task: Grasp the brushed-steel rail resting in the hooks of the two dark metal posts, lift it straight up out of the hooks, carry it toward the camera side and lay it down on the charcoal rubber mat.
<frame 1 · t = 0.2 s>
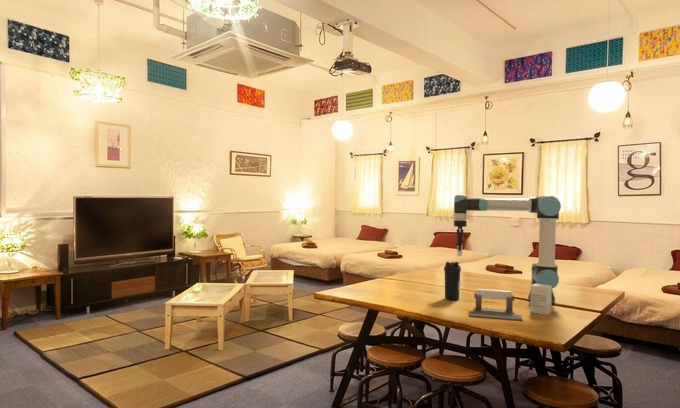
hand: (459, 254, 270), 28 cm above the table, fingers open, 13 cm apart
rack: (493, 311, 244), on the table
rail: (493, 298, 244), point 7 cm above the table, touching rack
water bottle: (451, 299, 273), on the table
supplement box: (540, 312, 243), on the table
mat: (495, 316, 233), on the table
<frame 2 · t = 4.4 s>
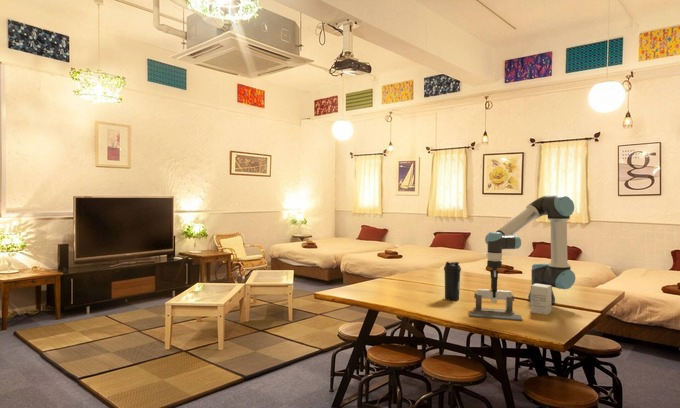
hand: (493, 302, 244), 5 cm above the table, fingers closed on rail, 3 cm apart
rail: (493, 298, 244), point 7 cm above the table, touching gripper, rack
everything else where it was.
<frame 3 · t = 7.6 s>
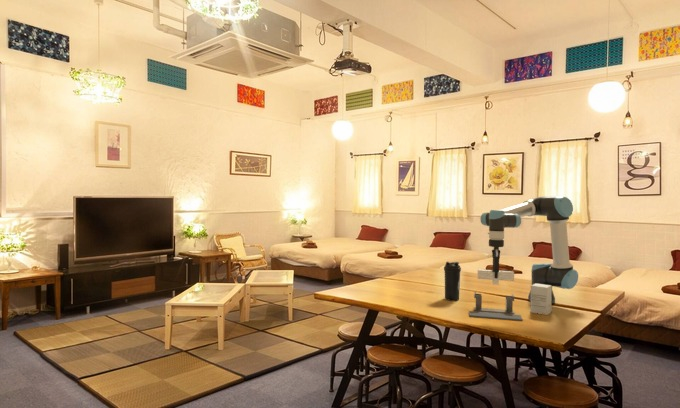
hand: (495, 283, 232), 18 cm above the table, fingers closed on rail, 3 cm apart
rail: (495, 279, 232), point 20 cm above the table, touching gripper
everything else where it was.
when the fingers open (2 cm above the table, at t = 10.8 s): rail drops 3 cm, resting on mat.
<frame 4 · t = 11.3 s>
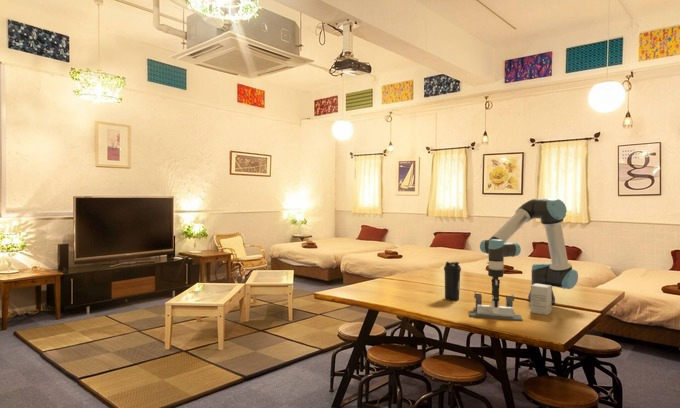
hand: (495, 310, 233), 3 cm above the table, fingers open, 10 cm apart
rail: (495, 315, 233), point 1 cm above the table, touching mat
everything else where it was.
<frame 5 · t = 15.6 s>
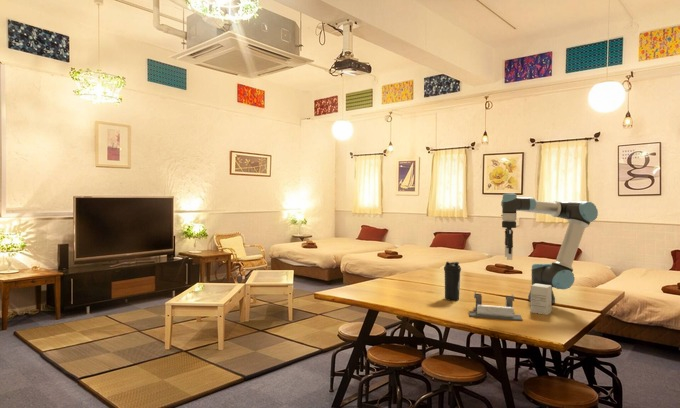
hand: (508, 258, 249), 29 cm above the table, fingers open, 13 cm apart
nothing on the table moved.
at the end: rail inside the target area on the mat (0.0 cm from its centre), point 0.8 cm above the mat's base; rail touching mat; the gripper is holding nothing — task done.
